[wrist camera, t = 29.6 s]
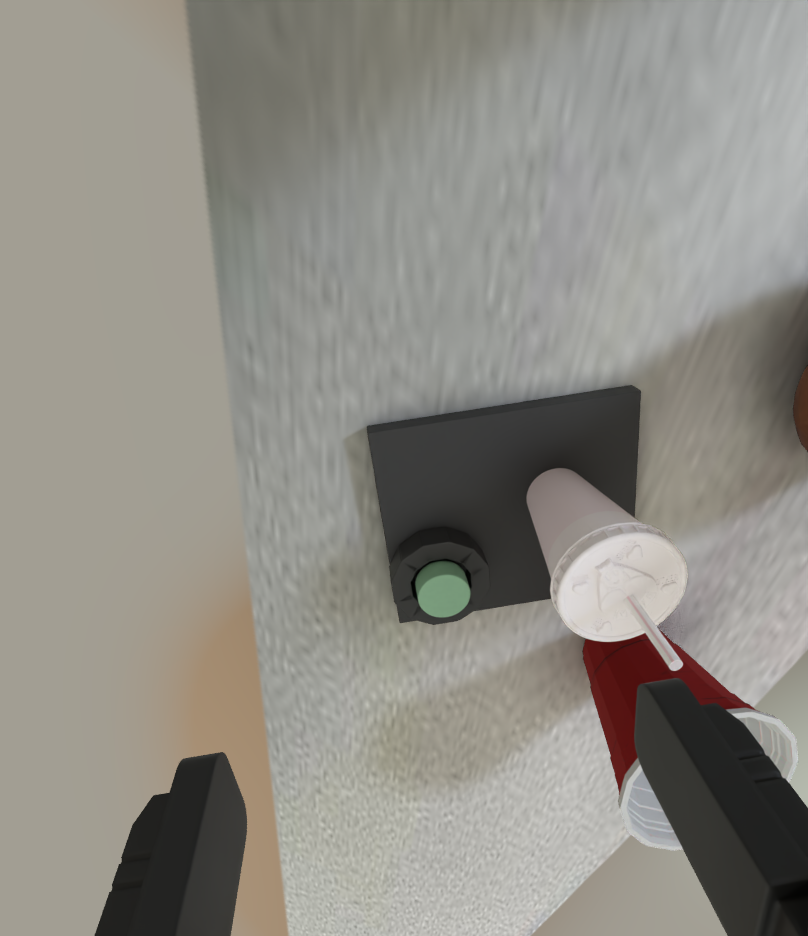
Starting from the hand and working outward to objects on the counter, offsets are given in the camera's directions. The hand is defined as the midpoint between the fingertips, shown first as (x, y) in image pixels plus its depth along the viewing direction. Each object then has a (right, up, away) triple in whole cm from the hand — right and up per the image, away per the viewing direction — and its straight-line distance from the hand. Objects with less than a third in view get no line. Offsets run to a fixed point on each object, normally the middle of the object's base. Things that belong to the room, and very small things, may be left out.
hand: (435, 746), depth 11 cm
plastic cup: (+16, -8, +32) cm, 36 cm away
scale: (+6, +3, +26) cm, 27 cm away
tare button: (+2, -2, +25) cm, 25 cm away
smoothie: (+9, +4, +25) cm, 26 cm away
